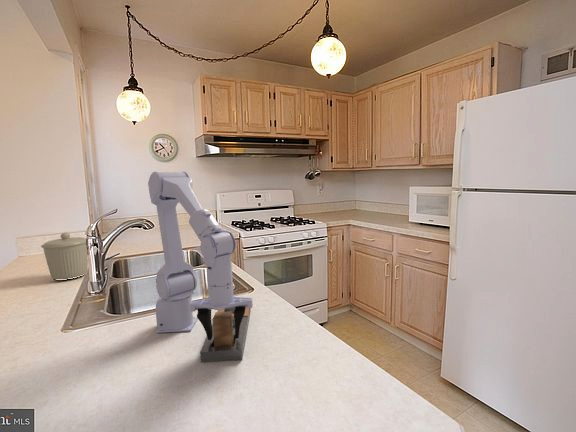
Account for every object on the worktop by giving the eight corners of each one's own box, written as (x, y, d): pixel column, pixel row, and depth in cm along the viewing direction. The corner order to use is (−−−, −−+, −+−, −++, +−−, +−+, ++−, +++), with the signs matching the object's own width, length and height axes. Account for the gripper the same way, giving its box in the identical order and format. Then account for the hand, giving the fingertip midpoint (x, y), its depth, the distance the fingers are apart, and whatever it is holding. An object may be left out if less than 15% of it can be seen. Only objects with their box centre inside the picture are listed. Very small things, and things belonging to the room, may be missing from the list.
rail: (200, 362, 70) (200, 351, 70) (220, 312, 97) (220, 304, 97) (242, 359, 71) (241, 348, 71) (250, 311, 98) (250, 303, 97)
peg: (214, 355, 73) (212, 319, 72) (217, 346, 77) (215, 312, 76) (231, 354, 73) (229, 318, 72) (234, 345, 77) (232, 311, 76)
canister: (75, 283, 134) (70, 235, 132) (34, 284, 134) (28, 237, 132) (101, 271, 152) (97, 229, 150) (65, 272, 152) (60, 230, 150)
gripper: (184, 290, 69) (189, 347, 71) (249, 286, 70) (252, 343, 71) (192, 280, 76) (196, 332, 78) (251, 277, 77) (254, 329, 78)
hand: (223, 337), depth 75 cm, fingers open, 6 cm apart
